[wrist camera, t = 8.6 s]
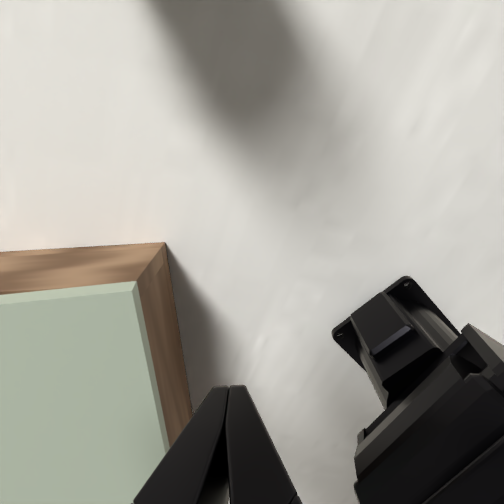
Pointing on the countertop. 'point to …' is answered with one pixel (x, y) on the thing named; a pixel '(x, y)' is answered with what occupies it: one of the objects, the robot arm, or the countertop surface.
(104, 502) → the lid
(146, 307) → the walnut box
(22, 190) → the countertop surface
